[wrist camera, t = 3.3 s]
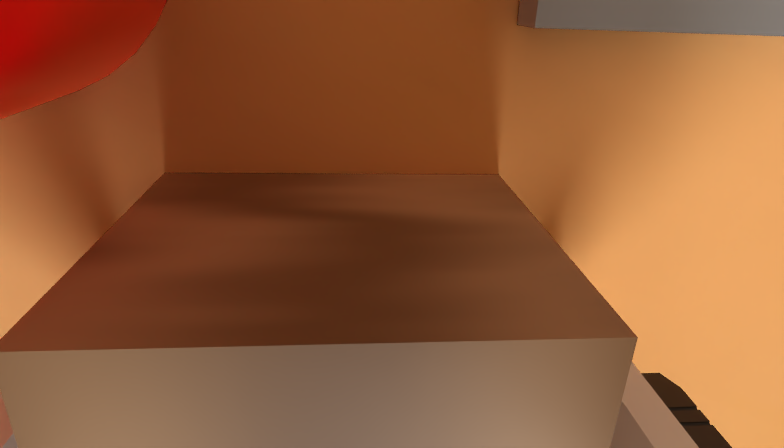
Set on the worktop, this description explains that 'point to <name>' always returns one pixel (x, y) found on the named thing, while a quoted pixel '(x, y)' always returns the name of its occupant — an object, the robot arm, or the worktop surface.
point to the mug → (66, 45)
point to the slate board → (657, 16)
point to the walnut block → (319, 323)
